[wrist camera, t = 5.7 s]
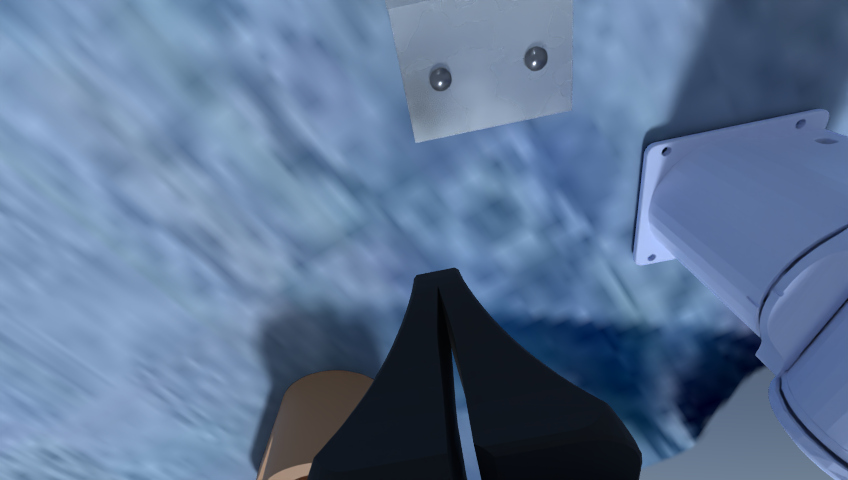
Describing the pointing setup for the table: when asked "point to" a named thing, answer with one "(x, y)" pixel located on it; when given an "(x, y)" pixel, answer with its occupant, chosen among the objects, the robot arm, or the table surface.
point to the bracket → (309, 421)
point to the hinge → (482, 61)
